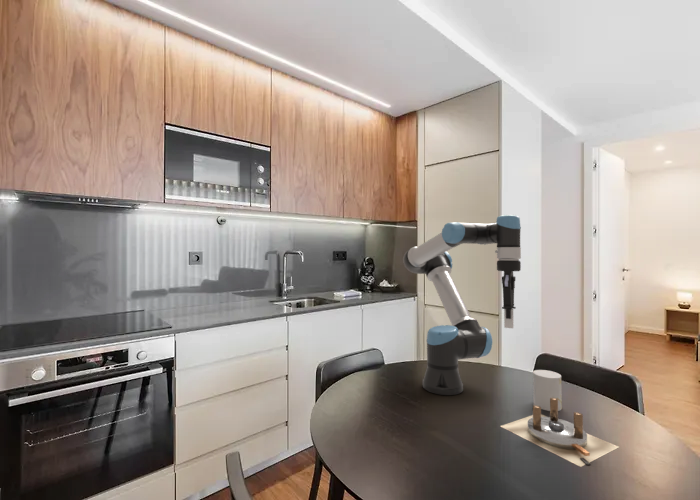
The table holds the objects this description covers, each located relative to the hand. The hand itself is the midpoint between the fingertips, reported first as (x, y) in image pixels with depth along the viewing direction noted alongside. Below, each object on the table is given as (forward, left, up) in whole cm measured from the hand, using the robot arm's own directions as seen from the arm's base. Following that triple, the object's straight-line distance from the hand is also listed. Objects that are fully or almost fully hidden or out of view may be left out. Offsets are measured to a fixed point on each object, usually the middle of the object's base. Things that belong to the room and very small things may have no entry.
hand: (508, 327), depth 119 cm
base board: (+22, -10, -26) cm, 36 cm away
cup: (+9, +7, -27) cm, 29 cm away
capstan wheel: (+24, -11, -25) cm, 36 cm away
